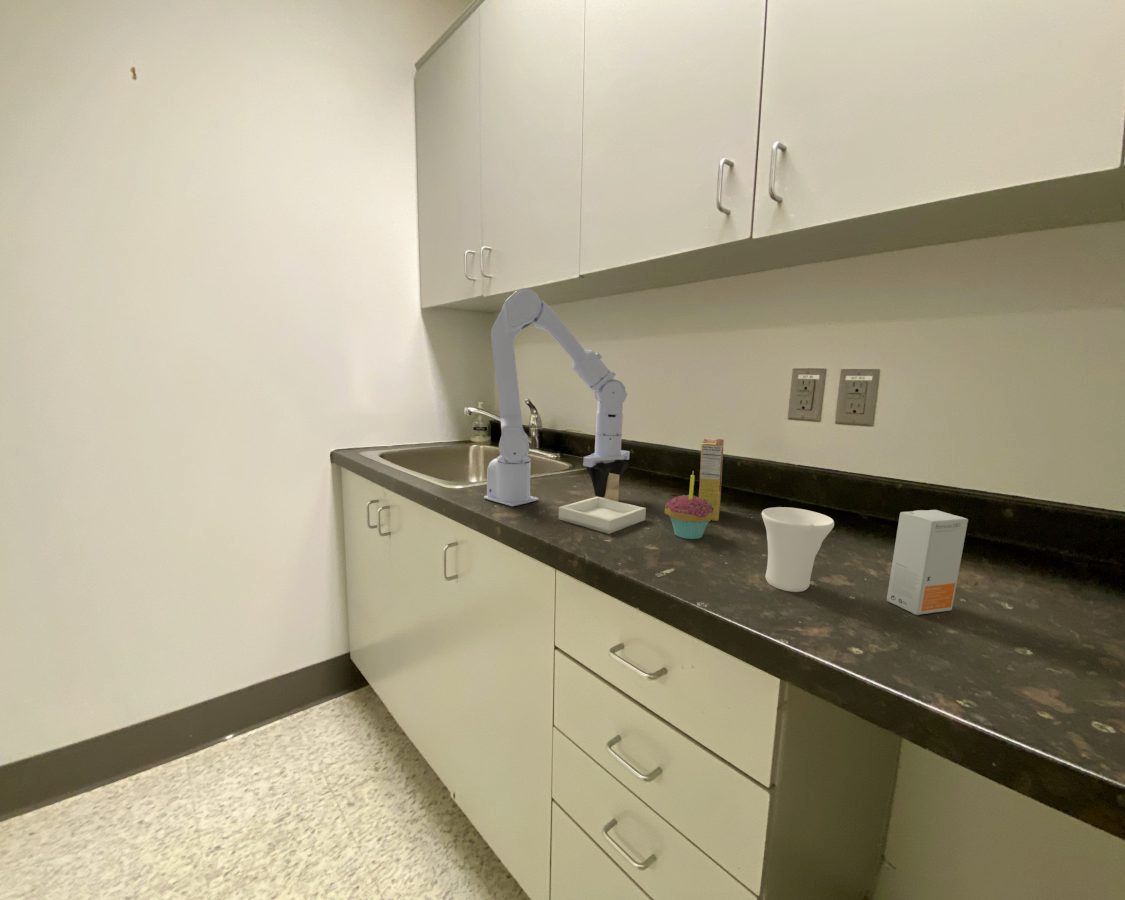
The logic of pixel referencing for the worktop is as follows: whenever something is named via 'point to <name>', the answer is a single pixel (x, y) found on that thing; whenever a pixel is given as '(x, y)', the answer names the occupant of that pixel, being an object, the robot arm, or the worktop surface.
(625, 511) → the tray
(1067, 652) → the worktop surface
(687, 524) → the cupcake
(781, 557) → the cup
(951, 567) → the skincare box
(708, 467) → the candy box
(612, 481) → the wooden block
